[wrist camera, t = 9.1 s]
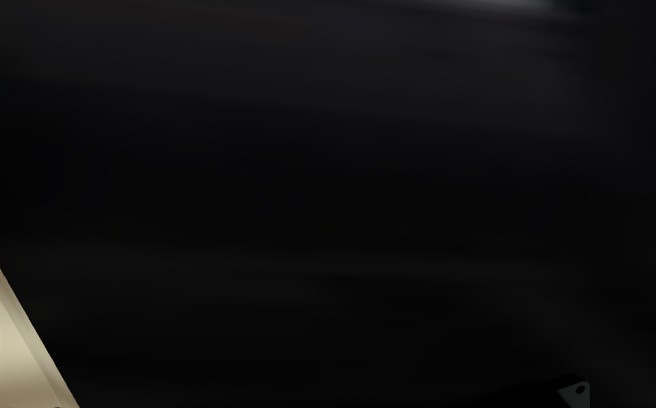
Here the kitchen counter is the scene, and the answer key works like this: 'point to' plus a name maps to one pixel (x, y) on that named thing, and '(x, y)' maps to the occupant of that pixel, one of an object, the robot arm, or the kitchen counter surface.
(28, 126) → the kitchen counter surface
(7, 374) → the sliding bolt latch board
